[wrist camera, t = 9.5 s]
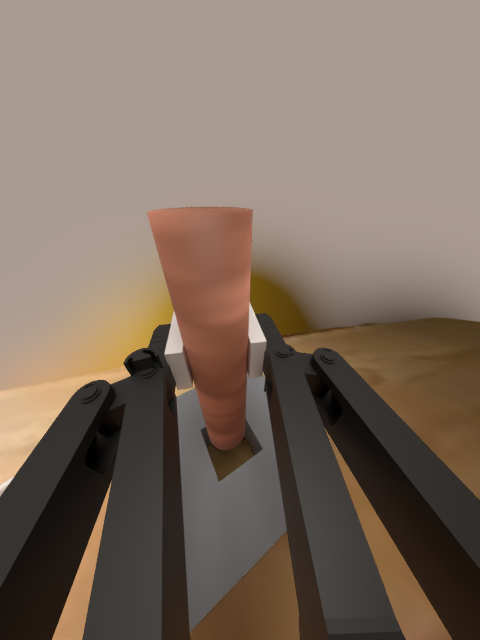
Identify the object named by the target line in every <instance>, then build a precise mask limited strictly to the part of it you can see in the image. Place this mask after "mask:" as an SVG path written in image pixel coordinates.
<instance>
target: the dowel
mask: <svg viewBox="0 0 480 640" xmlns="http://www.w3.org/2000/svg"><path fill="white" fill-rule="evenodd" d="M252 211H253V210H251V209H246V208H234V207H186V208H169V209H159V210H153V211H149V212H147V214H148V218H149V222H150V225H151V229H152V232H153V236H154V240H155V243H156V247H157V250H158V254H159V258H160V261H161V265H162V268H163V272H164V276H165V279H166V283H167V286H168V290H169V294H170V298H171V301H172V305H173V308H174V312H175V316H176V319H177V323H178V327H179V330H180V334H181V337H182V341H183V344H184V348H185V352H186V355H187V359H188V363H189V366H190V370H191V373H192V377H193V381H194V384H195V388H196V392H197V395H198V399H199V403H200V406H201V410H202V413H203V417H204V421H205V424H206V428H207V432H208V435H209V438H210V441H211V442H212V444H213V445H214V446H215V447H216V448H218V449H221V450H231V449H233V448H235V447H236V446H238V445H239V444H240V443H241V441H242V439H243V437H244V434H245V421H246V392H247V362H248V332H249V301H250V271H251V242H252V240H251V239H252Z"/></svg>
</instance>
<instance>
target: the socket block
mask: <svg viewBox="0 0 480 640" xmlns="http://www.w3.org/2000/svg"><path fill="white" fill-rule="evenodd" d="M264 385H265V377H264V376H262V377H256V378H250V379H249V375H248V371H247V392H246V421H245V434H244V436H245V438H246V440H247V442H248V444H249V446H250V447H251V449H252V451H253V453H254V455H255V456H253V457H252V458H250V459H249V460H248V461H246V462H245V463H244V464H242V465H241V466H240V467H238V468H237V469H236V470H234V471H233V472H232V473H230V474H229V475H228V476H226V477H225V478H224V479H222V480H221V481H220V482H219V481H218V478H217V475H216V472H215V469H214V467H213V464H212V461H211V458H210V455H209V453H208V450H207V447H209V446H210V445H212V442H211V441H210V438H209V435H208V432H207V428H206V424H205V421H204V417H203V413H202V410H201V406H200V403H199V399H198V395H197V392H196V388H194V389H192V390H190V391H188V392H186V393H184V394H182V395H180V396H177V397H176V398H177V414H178V432H179V450H180V467H181V485H182V503H183V521H184V539H185V557H186V575H187V592H188V610H189V628H190V632H191V630H192V629H193V628H194V627H195V626H196V625H197V624H198V623H199V622H200V621H201V620H202V619H203V618H204V617H205V616H206V615H207V614H208V613H209V612H210V611H211V610H212V609H213V607H214V606H215V605H216V604H217V603H218V602H219V601H220V600H221V599H222V598H223V597H224V596H225V595H226V594H227V593H228V592H229V591H230V590H231V589H232V588H233V587H234V586H235V584H236V583H237V582H238V581H239V580H240V579H241V578H242V577H243V576H244V575H245V574H246V573H247V572H248V571H249V570H250V569H251V568H252V567H253V566H254V565H255V564H256V562H257V561H258V560H259V559H260V558H261V557H262V556H263V555H264V554H265V553H266V552H267V551H268V550H269V549H270V548H271V547H272V546H273V545H274V544H275V543H276V542H277V541H278V539H279V538H280V537H281V536H282V535H283V534H284V533H285V532H286V531H287V527H286V521H285V514H284V507H283V501H282V494H281V487H280V481H279V474H278V467H277V461H276V454H275V448H274V441H273V434H272V428H271V421H270V414H269V408H268V401H267V395H266V392H264Z"/></svg>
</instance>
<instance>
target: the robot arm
mask: <svg viewBox="0 0 480 640" xmlns="http://www.w3.org/2000/svg"><path fill="white" fill-rule="evenodd" d="M124 365H125V367H126V368H127V370H128V372H129V373H130V375H131V376H130V377H128V378H126V379H123V380H121V381H118V382H115V383H113V384H109V383H108V382H107V381H105V380H97V381H92V382H90V383H88V384H86V385H84V386H83V387H81V388H80V389H79V390H78V391H77V392H76V393H75V394H74V395H73V396H72V397H71V399H70V400H69V401H68V403H67V404H66V406H65V407H64V408H63V410H62V411H61V413H60V414H59V415H58V417H57V418H56V419H55V421H54V422H53V424H52V425H51V426H50V428H49V429H48V431H47V432H46V433H45V435H44V436H43V438H42V439H41V440H40V442H39V443H38V444H37V446H36V447H35V449H34V450H33V451H32V453H31V454H30V456H29V457H28V458H27V460H26V461H25V463H24V464H23V465H22V467H21V468H20V469H19V471H18V472H17V474H16V475H15V476H14V478H13V479H12V481H11V482H10V483H9V485H8V486H7V487H6V489H5V490H4V492H3V493H2V494H1V496H0V640H52V638H53V635H54V632H55V630H56V627H57V624H58V622H59V619H60V616H61V614H62V611H63V608H64V606H65V603H66V600H67V597H68V595H69V592H70V589H71V587H72V584H73V581H74V579H75V576H76V573H77V571H78V568H79V565H80V563H81V560H82V557H83V555H84V552H85V549H86V547H87V544H88V541H89V539H90V536H91V533H92V531H93V528H94V525H95V523H96V520H97V517H98V515H99V512H100V509H101V507H102V504H103V501H104V499H105V496H106V493H107V491H108V488H109V485H110V483H111V488H110V493H109V499H108V504H107V510H106V515H105V520H104V526H103V531H102V537H101V542H100V547H99V553H98V558H97V564H96V569H95V575H94V580H93V585H92V591H91V596H90V602H89V607H88V613H87V618H86V623H85V629H84V634H83V640H190V628H189V610H188V592H187V575H186V557H185V539H184V521H183V503H182V485H181V467H180V450H179V432H178V414H177V398H176V395H175V386H177V389H178V390H180V389H187V388H192V387H193V377H192V373H191V370H190V366H189V363H188V359H187V355H186V352H185V348H184V344H183V341H182V337H181V334H180V330H179V327H178V323H177V319H176V316H175V312H174V314H173V319H172V323H171V324H167V325H159V326H158V327H157V328H156V329H155V330H154V332H153V335H152V338H151V341H150V344H149V346H148V348H142V349H139V350H136V351H135V352H133V353H131V354H130V355H129V356H128V357H127V358H126V359H125V361H124ZM247 371H248V375H249V379H250V378H256V377H262V376H263V372H264V375H265V385H264V392H266V395H267V401H268V408H269V414H270V421H271V428H272V434H273V441H274V448H275V454H276V461H277V467H278V474H279V481H280V487H281V494H282V501H283V507H284V514H285V521H286V527H287V534H288V540H289V547H290V554H291V560H292V567H293V574H294V580H295V587H296V594H297V601H298V609H299V633H300V640H406V639H405V637H404V635H403V633H402V631H401V629H400V626H399V624H398V622H397V619H396V617H395V614H394V612H393V609H392V606H391V604H390V601H389V598H388V596H387V593H386V590H385V588H384V585H383V582H382V580H381V577H380V574H379V572H378V569H377V566H376V564H375V561H374V558H373V556H372V553H371V550H370V548H369V545H368V542H367V540H366V537H365V534H364V532H363V529H362V526H361V524H360V521H359V518H358V516H357V513H356V510H355V508H354V505H353V502H352V500H351V497H350V494H349V492H348V489H347V486H346V484H345V481H344V478H343V476H342V473H341V470H340V468H339V465H338V462H337V460H336V457H335V454H334V452H333V449H332V446H331V444H330V441H329V438H328V436H327V433H326V430H327V432H328V433H329V435H330V437H331V438H332V440H333V442H334V443H335V445H336V447H337V448H338V450H339V452H340V453H341V455H342V457H343V458H344V460H345V462H346V463H347V465H348V467H349V468H350V470H351V472H352V473H353V475H354V477H355V478H356V480H357V482H358V483H359V485H360V487H361V488H362V490H363V492H364V493H365V495H366V497H367V498H368V500H369V501H370V503H371V505H372V506H373V508H374V510H375V511H376V513H377V515H378V516H379V518H380V520H381V521H382V523H383V525H384V526H385V528H386V530H387V531H388V533H389V535H390V536H391V538H392V540H393V541H394V543H395V545H396V546H397V548H398V550H399V551H400V553H401V555H402V556H403V558H404V560H405V561H406V563H407V565H408V566H409V568H410V570H411V571H412V573H413V575H414V576H415V578H416V580H417V581H418V583H419V585H420V586H421V588H422V590H423V591H424V593H425V594H426V596H427V598H428V599H429V601H430V603H431V604H432V606H433V608H434V609H435V611H436V613H437V614H438V616H439V618H440V619H441V621H442V623H443V624H444V626H445V628H446V629H447V631H448V633H449V634H450V636H451V638H452V639H453V640H480V500H479V499H478V498H477V497H476V496H475V495H474V494H473V493H472V492H471V491H470V490H469V489H468V488H467V487H466V486H465V485H464V484H463V482H462V481H461V480H460V479H459V478H458V477H457V476H456V475H455V474H454V473H453V472H452V471H451V470H450V469H449V468H448V467H447V466H446V465H445V464H444V463H443V462H442V461H441V460H440V459H439V458H438V457H437V455H436V454H435V453H434V452H433V451H432V450H431V449H430V448H429V447H428V446H427V445H426V444H425V443H424V442H423V441H422V440H421V439H420V438H419V437H418V436H417V435H416V434H415V433H414V432H413V431H412V429H411V428H410V427H409V426H408V425H407V424H406V423H405V422H404V421H403V420H402V419H401V418H400V417H399V416H398V415H397V414H396V413H395V412H394V411H393V410H392V409H391V408H390V407H389V406H388V405H387V403H386V402H385V401H384V400H383V399H382V398H381V397H380V396H379V395H378V394H377V393H376V392H375V391H374V390H373V389H372V388H371V387H370V386H369V385H368V384H367V383H366V382H365V381H364V380H363V379H362V377H361V376H360V375H359V374H358V373H357V372H356V371H355V370H354V369H353V368H352V367H351V366H350V365H349V364H348V363H347V362H346V361H345V360H344V359H343V358H342V357H341V356H340V355H339V354H338V353H337V352H335V351H333V350H331V349H328V348H318V349H316V350H315V351H314V353H313V354H307V353H300V352H296V351H295V350H294V348H292V347H291V346H290V345H287V344H286V343H285V342H284V340H283V338H282V336H281V334H280V333H279V331H278V329H277V328H276V325H275V324H274V322H273V320H272V318H271V317H270V316H269V315H267V314H266V313H264V314H255V313H254V311H253V309H252V307H251V304H250V302H249V332H248V362H247ZM324 427H325V428H326V430H325V428H324ZM111 480H112V482H111Z"/></svg>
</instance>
